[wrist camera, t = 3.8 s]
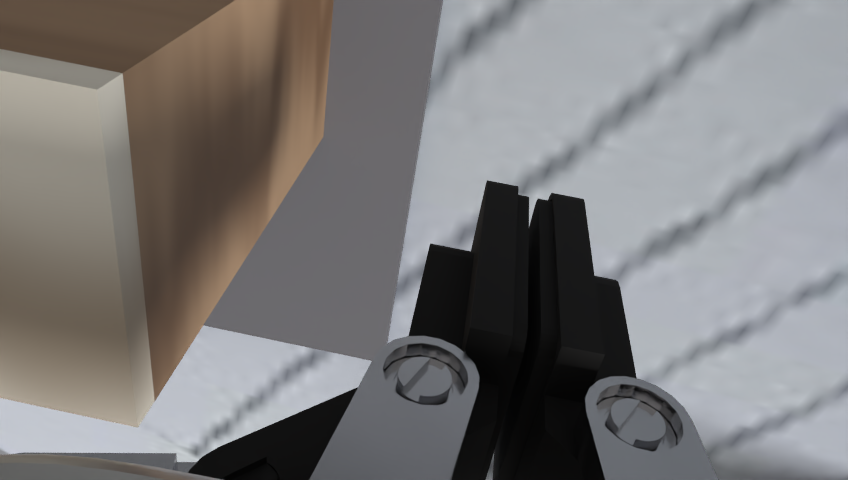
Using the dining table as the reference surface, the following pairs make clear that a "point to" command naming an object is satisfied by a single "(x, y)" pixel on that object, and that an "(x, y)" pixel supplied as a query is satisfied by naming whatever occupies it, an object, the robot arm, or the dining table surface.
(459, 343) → the robot arm
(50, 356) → the wooden box
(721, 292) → the dining table surface
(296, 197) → the rubber mat
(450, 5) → the dining table surface
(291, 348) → the dining table surface
